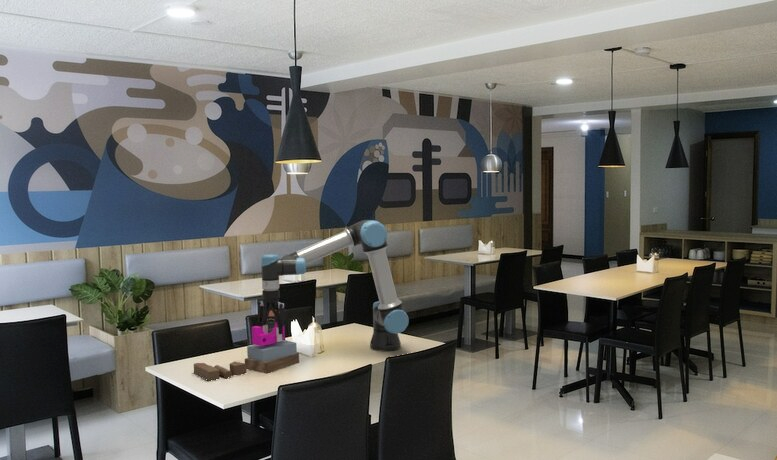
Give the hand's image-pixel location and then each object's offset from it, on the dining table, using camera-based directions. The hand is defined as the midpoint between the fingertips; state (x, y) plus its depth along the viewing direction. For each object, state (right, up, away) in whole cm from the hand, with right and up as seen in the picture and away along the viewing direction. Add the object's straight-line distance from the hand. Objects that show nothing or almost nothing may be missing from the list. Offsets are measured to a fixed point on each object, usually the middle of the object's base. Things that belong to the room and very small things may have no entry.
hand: (272, 340), depth 287 cm
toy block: (-1, -1, -1) cm, 1 cm away
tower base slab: (0, -12, +1) cm, 12 cm away
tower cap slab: (0, -7, +1) cm, 7 cm away
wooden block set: (-21, -13, -10) cm, 26 cm away
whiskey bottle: (-4, -10, +28) cm, 30 cm away
